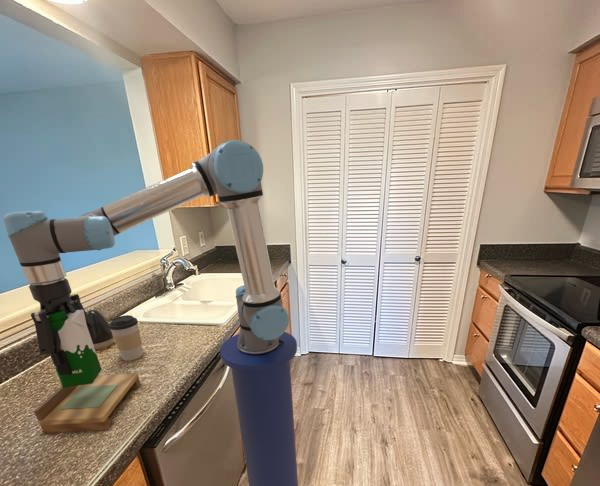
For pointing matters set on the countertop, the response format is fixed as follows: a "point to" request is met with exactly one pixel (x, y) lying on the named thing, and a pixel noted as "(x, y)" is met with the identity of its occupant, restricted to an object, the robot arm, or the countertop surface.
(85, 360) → the soya milk
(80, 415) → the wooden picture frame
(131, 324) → the coffee cup
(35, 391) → the countertop surface
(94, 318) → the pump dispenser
